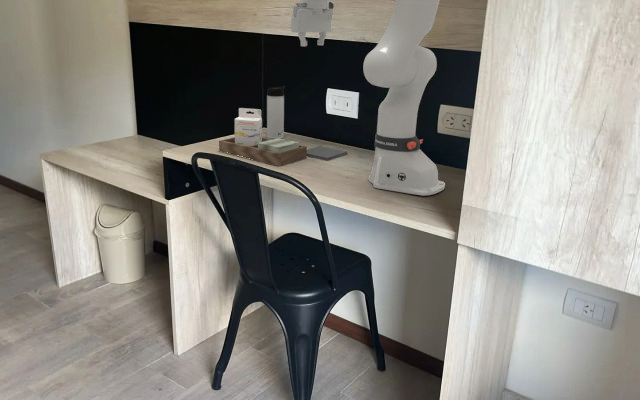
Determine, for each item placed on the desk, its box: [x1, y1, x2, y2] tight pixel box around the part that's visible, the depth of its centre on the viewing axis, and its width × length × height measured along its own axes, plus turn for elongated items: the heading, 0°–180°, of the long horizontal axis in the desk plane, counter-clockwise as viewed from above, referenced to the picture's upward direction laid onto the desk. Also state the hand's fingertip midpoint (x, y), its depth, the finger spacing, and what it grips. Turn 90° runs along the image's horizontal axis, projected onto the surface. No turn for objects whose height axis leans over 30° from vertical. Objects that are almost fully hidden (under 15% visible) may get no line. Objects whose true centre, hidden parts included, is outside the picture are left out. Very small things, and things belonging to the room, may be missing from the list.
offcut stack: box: [258, 138, 300, 153], centre depth 183 cm, size 10×11×6 cm
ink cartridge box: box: [234, 107, 263, 146], centre depth 190 cm, size 9×5×15 cm, turn 81°
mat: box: [307, 145, 348, 162], centre depth 192 cm, size 12×12×1 cm
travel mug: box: [266, 86, 286, 140], centre depth 208 cm, size 6×7×20 cm
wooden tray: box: [218, 136, 308, 167], centre depth 188 cm, size 27×14×4 cm, turn 53°
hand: (312, 45), depth 193 cm, fingers open, 8 cm apart
